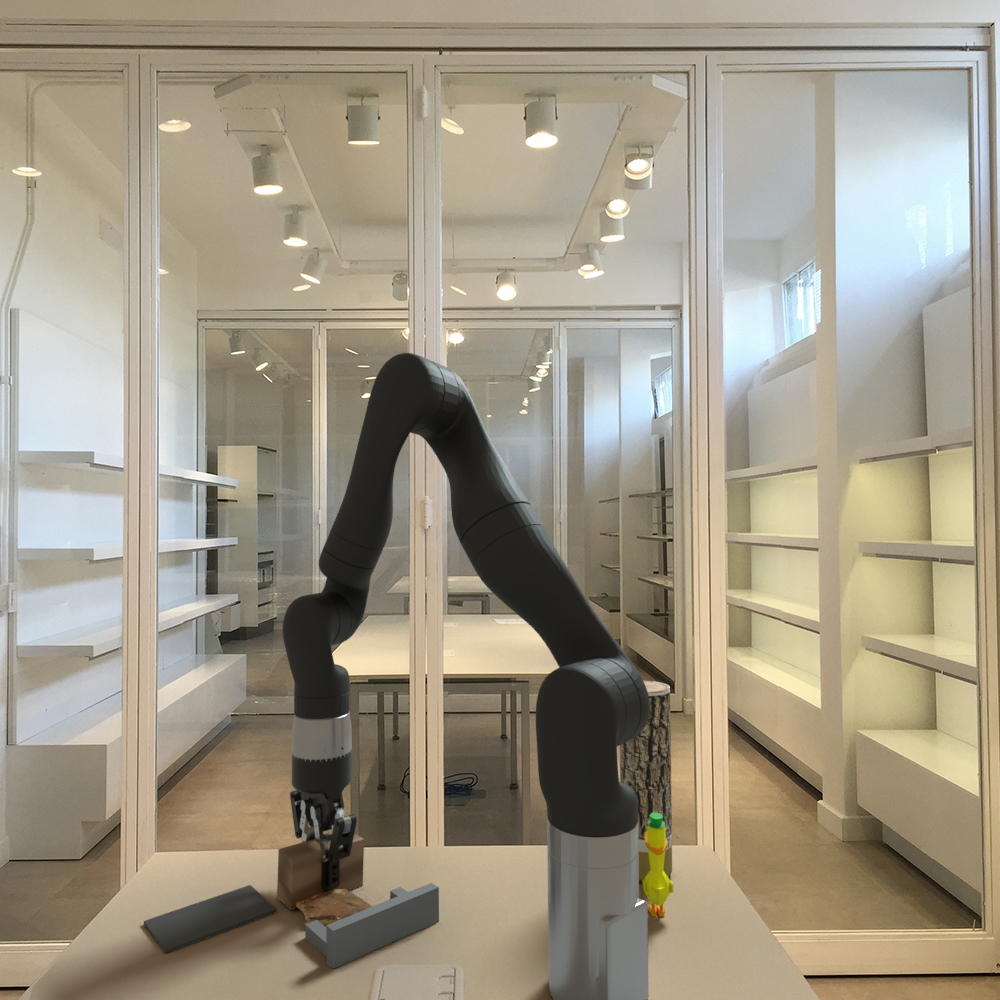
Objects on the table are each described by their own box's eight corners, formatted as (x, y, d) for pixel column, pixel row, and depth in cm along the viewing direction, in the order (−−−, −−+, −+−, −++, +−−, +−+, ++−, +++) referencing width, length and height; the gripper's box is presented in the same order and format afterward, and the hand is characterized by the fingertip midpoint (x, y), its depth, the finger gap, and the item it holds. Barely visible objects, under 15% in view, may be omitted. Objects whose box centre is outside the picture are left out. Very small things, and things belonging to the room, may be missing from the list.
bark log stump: (614, 878, 100) (612, 688, 100) (630, 857, 106) (628, 678, 106) (664, 889, 96) (662, 694, 97) (678, 867, 102) (675, 683, 103)
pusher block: (362, 885, 98) (364, 839, 98) (291, 910, 91) (292, 860, 92) (347, 874, 101) (348, 829, 101) (277, 897, 94) (278, 849, 95)
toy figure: (639, 897, 95) (638, 801, 95) (668, 897, 94) (666, 801, 95) (645, 926, 88) (644, 822, 88) (676, 927, 88) (674, 823, 88)
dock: (439, 921, 89) (438, 887, 89) (333, 968, 80) (333, 930, 80) (403, 897, 95) (403, 865, 95) (301, 939, 86) (300, 903, 86)
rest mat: (276, 912, 92) (276, 908, 92) (165, 953, 83) (165, 949, 83) (250, 888, 98) (250, 884, 98) (143, 924, 89) (143, 921, 89)
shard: (390, 931, 88) (390, 916, 88) (332, 957, 83) (332, 941, 83) (343, 897, 96) (343, 883, 96) (288, 918, 91) (288, 903, 91)
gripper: (376, 754, 94) (376, 893, 94) (322, 730, 105) (321, 854, 104) (322, 768, 89) (321, 914, 89) (270, 740, 100) (270, 871, 99)
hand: (321, 881), depth 96 cm, fingers closed on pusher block, 4 cm apart
